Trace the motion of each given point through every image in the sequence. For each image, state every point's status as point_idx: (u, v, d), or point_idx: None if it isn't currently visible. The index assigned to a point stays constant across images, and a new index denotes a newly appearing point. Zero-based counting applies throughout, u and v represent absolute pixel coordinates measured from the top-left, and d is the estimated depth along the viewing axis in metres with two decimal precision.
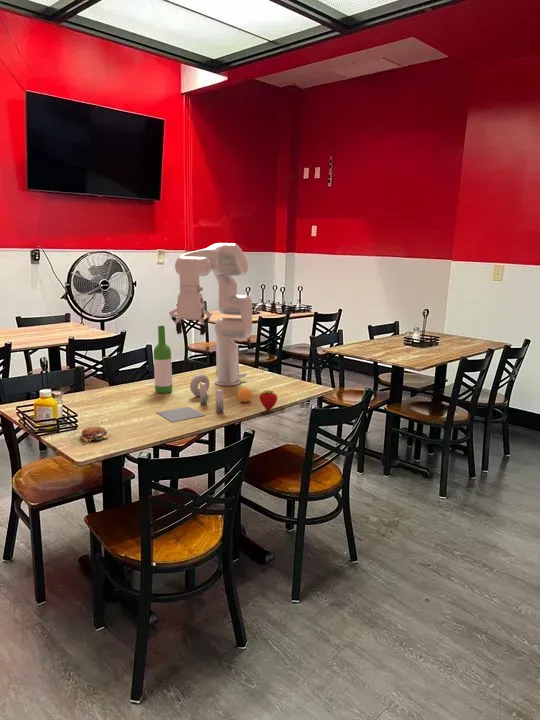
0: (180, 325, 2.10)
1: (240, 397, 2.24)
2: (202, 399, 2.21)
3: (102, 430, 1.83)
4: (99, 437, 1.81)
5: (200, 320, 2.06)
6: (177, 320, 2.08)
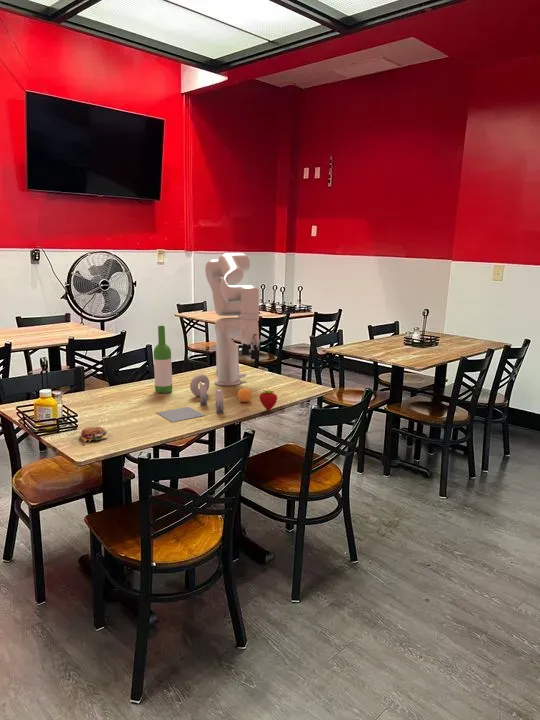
0: None
1: (240, 397, 2.24)
2: (202, 399, 2.21)
3: (101, 430, 1.83)
4: (98, 437, 1.81)
5: None
6: None
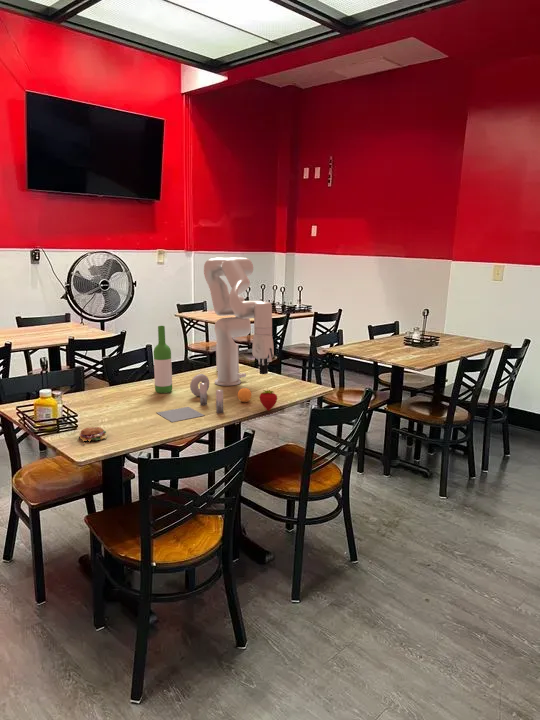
0: None
1: (240, 397, 2.24)
2: (202, 399, 2.21)
3: (101, 430, 1.83)
4: (98, 437, 1.81)
5: None
6: None
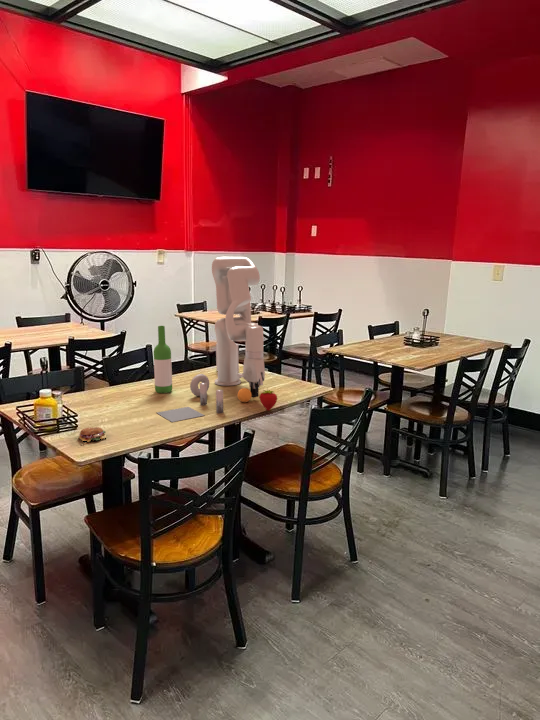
0: None
1: (240, 397, 2.24)
2: (202, 399, 2.21)
3: (100, 430, 1.83)
4: (97, 437, 1.80)
5: None
6: None
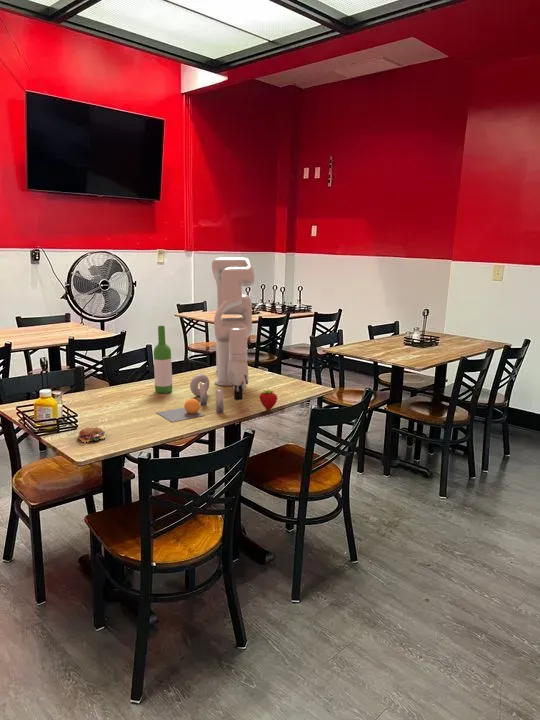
0: None
1: None
2: (202, 399, 2.21)
3: (100, 431, 1.82)
4: (97, 438, 1.80)
5: None
6: None
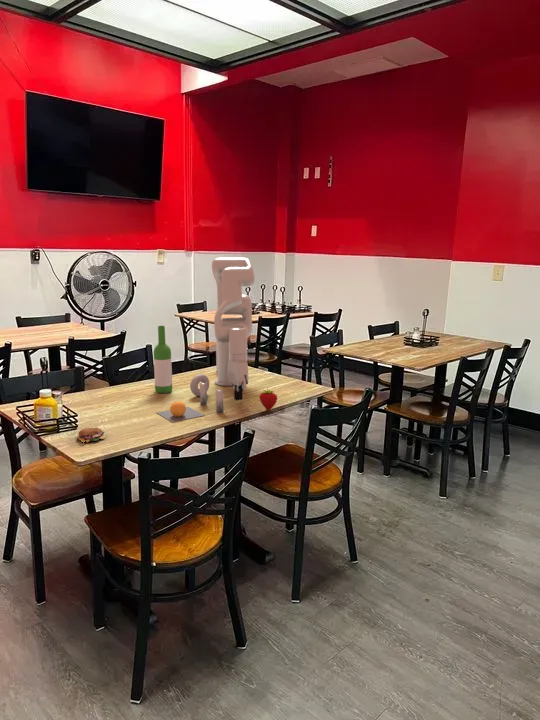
0: None
1: (182, 403, 2.06)
2: (202, 399, 2.21)
3: (99, 431, 1.82)
4: (96, 438, 1.80)
5: None
6: None
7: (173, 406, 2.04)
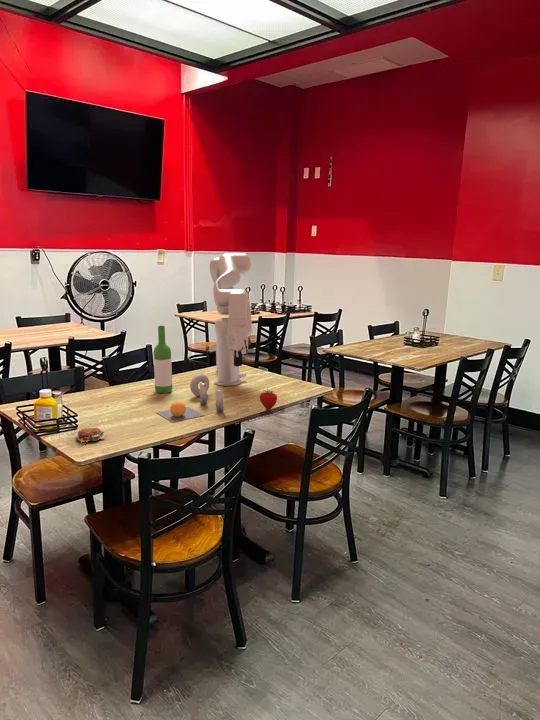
0: None
1: (182, 403, 2.06)
2: (202, 399, 2.21)
3: (98, 431, 1.82)
4: (96, 438, 1.80)
5: None
6: None
7: (173, 406, 2.04)
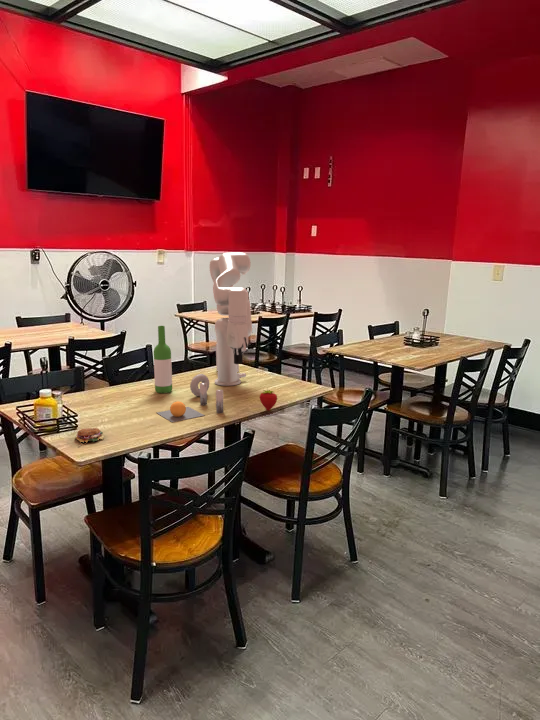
0: None
1: (182, 403, 2.06)
2: (202, 399, 2.21)
3: (98, 431, 1.82)
4: (95, 438, 1.80)
5: None
6: None
7: (173, 406, 2.04)
